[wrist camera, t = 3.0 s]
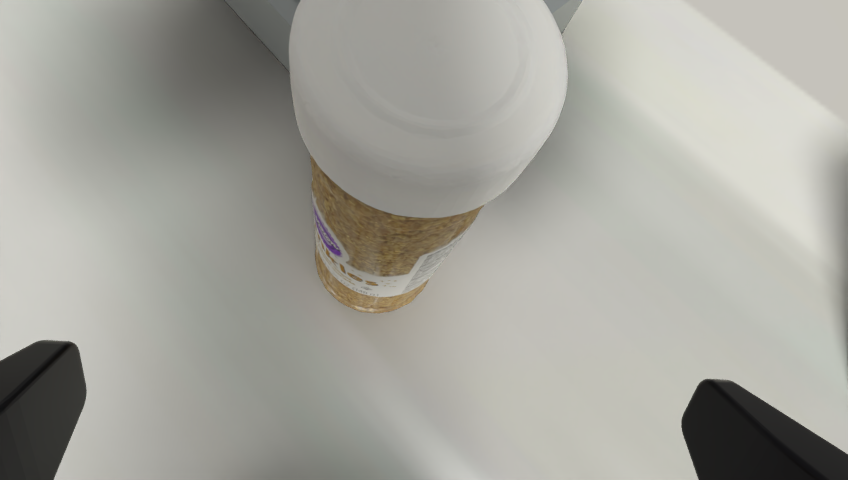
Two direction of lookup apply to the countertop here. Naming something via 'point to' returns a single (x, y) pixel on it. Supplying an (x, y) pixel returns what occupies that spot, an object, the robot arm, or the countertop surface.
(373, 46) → the sprinkles bottle
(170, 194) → the countertop surface
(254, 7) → the tray
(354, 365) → the countertop surface
